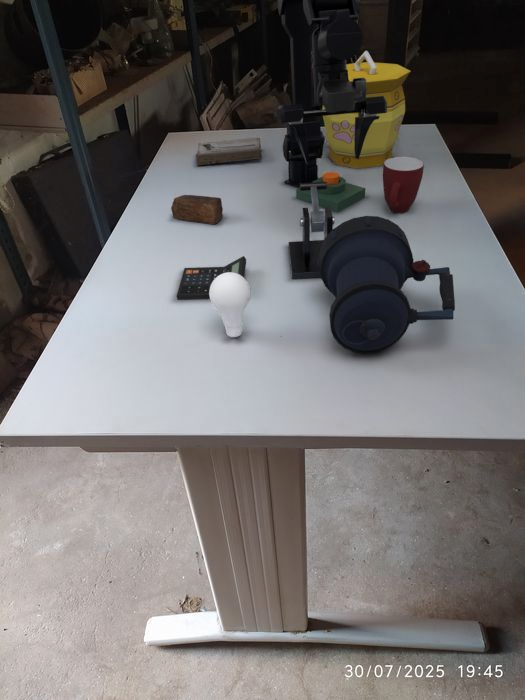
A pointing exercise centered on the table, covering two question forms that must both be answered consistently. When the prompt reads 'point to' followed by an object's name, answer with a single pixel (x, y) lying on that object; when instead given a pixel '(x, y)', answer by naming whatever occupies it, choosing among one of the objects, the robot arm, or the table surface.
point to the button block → (334, 195)
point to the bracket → (308, 248)
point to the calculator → (205, 279)
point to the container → (383, 130)
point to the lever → (315, 204)
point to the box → (228, 151)
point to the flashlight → (375, 283)
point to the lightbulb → (230, 300)
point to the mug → (401, 182)
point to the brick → (197, 208)
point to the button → (331, 178)
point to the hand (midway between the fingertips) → (332, 161)
